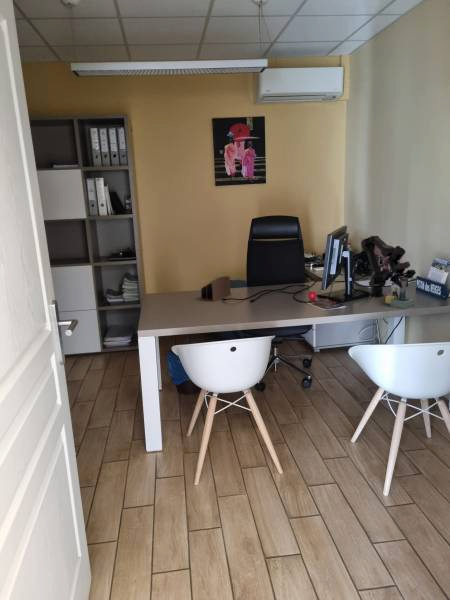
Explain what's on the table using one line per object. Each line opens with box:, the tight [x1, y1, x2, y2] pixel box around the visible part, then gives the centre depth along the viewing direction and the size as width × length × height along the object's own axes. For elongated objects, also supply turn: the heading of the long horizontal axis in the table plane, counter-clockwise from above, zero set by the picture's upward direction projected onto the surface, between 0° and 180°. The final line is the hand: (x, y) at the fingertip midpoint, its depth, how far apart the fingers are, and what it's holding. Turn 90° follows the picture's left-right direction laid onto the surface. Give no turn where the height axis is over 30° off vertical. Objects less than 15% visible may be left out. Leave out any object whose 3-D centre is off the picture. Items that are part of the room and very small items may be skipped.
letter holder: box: [200, 275, 232, 302], centre depth 306 cm, size 10×20×14 cm, turn 144°
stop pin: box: [399, 276, 408, 298], centre depth 269 cm, size 4×4×12 cm
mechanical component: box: [391, 282, 410, 290], centre depth 289 cm, size 3×10×10 cm, turn 78°
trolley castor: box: [390, 284, 400, 298], centre depth 281 cm, size 5×6×10 cm
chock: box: [385, 294, 397, 305], centre depth 279 cm, size 5×4×4 cm
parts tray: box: [390, 297, 415, 310], centre depth 271 cm, size 9×9×4 cm
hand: (404, 287), depth 268 cm, fingers closed on stop pin, 4 cm apart
